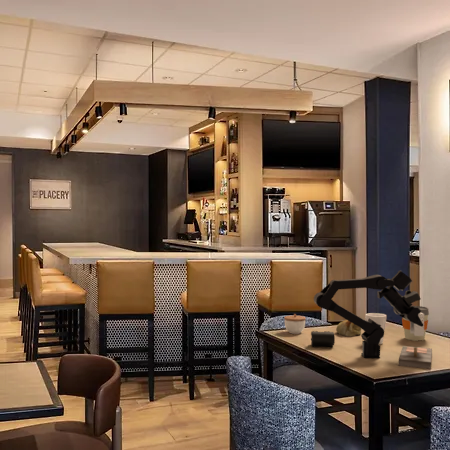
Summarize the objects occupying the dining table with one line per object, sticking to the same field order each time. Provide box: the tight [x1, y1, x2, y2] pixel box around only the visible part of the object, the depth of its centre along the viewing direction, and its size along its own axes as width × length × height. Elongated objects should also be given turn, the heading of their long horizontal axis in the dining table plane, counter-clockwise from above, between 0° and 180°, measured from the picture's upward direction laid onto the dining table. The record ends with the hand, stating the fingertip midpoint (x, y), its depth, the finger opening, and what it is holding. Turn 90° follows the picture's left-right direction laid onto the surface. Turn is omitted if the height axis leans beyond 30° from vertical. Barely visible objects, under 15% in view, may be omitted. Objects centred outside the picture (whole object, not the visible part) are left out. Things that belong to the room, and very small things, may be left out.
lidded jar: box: [284, 313, 307, 335], centre depth 279 cm, size 11×11×9 cm
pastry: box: [335, 319, 362, 338], centre depth 277 cm, size 14×12×8 cm
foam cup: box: [364, 312, 387, 345], centre depth 257 cm, size 10×9×13 cm
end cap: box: [310, 330, 336, 348], centre depth 250 cm, size 10×7×7 cm
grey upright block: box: [410, 312, 424, 336], centre depth 232 cm, size 4×5×9 cm
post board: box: [398, 345, 433, 370], centre depth 227 cm, size 24×12×6 cm, turn 158°
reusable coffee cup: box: [401, 305, 430, 341], centre depth 266 cm, size 13×13×15 cm
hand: (420, 324), depth 232 cm, fingers closed on grey upright block, 5 cm apart
